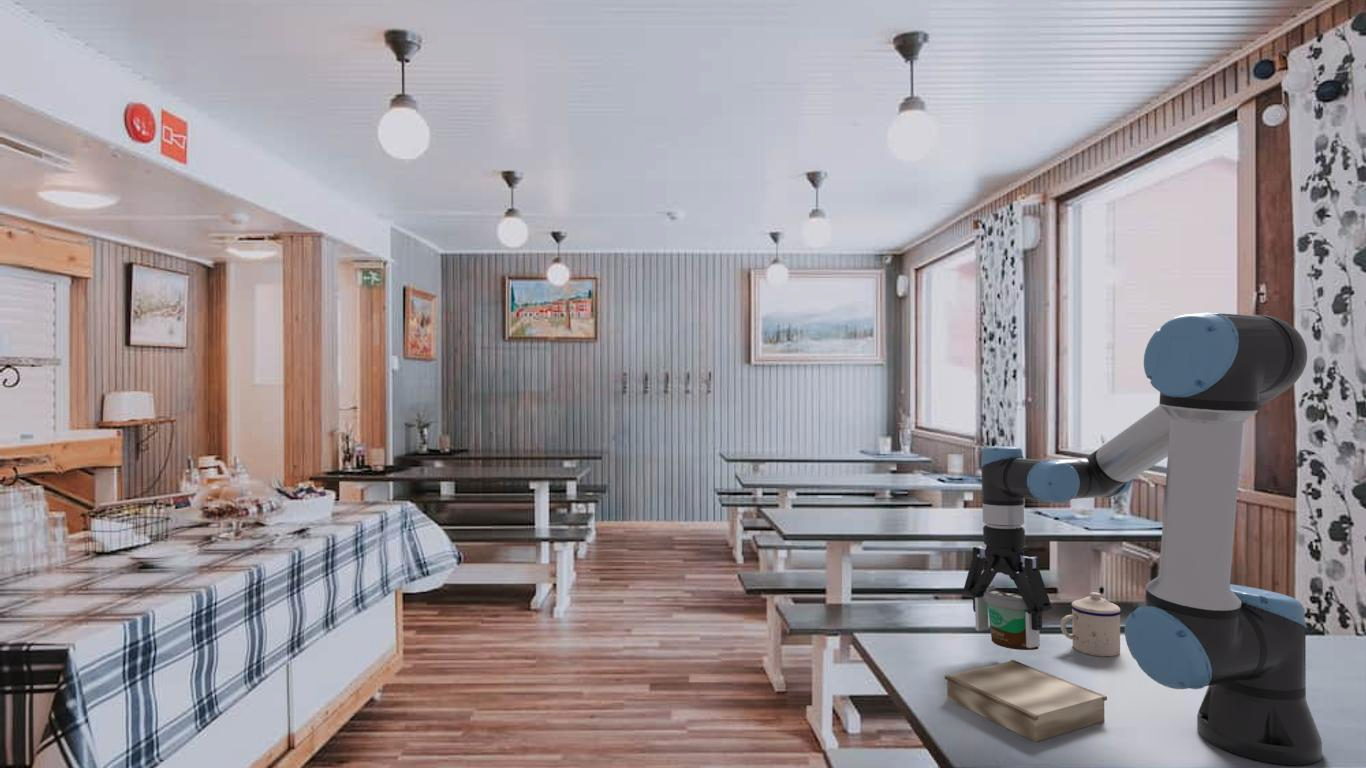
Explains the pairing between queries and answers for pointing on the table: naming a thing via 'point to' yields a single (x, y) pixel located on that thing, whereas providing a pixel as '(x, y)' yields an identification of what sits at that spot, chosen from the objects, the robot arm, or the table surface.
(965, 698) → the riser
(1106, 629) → the teacup with lid
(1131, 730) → the table surface
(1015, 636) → the food container
